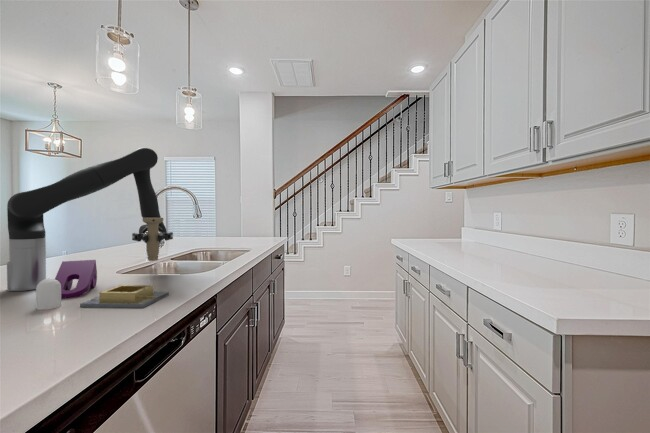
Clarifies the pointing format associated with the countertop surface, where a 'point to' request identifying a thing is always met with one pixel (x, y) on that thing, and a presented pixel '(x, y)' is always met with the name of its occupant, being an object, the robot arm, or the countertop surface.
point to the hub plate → (126, 297)
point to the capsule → (48, 294)
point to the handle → (152, 237)
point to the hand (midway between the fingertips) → (153, 238)
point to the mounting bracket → (76, 277)
